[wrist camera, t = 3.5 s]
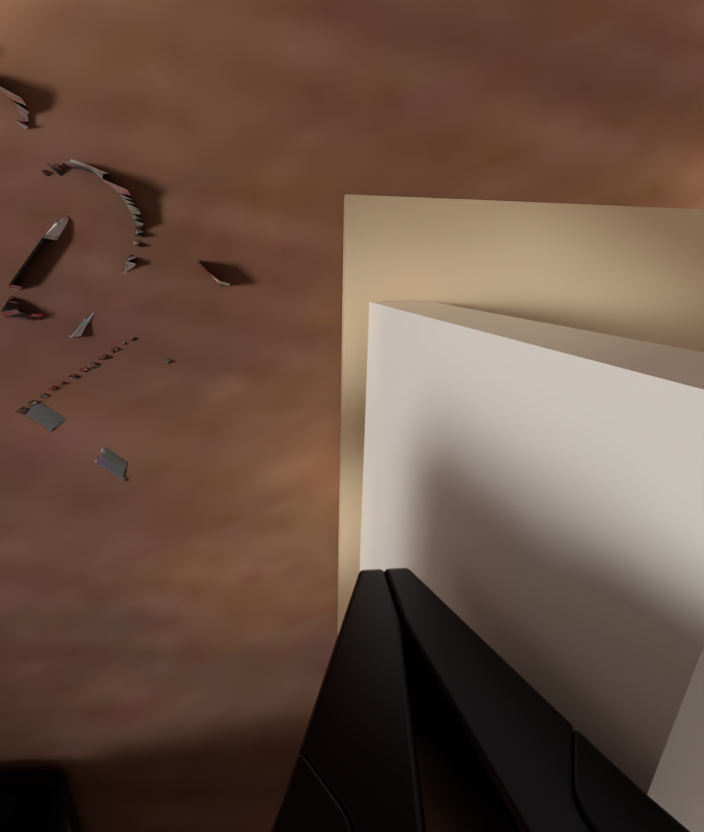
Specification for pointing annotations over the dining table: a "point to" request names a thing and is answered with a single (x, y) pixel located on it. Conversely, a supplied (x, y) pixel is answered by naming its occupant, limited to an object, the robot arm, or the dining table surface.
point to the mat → (507, 289)
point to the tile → (553, 516)
